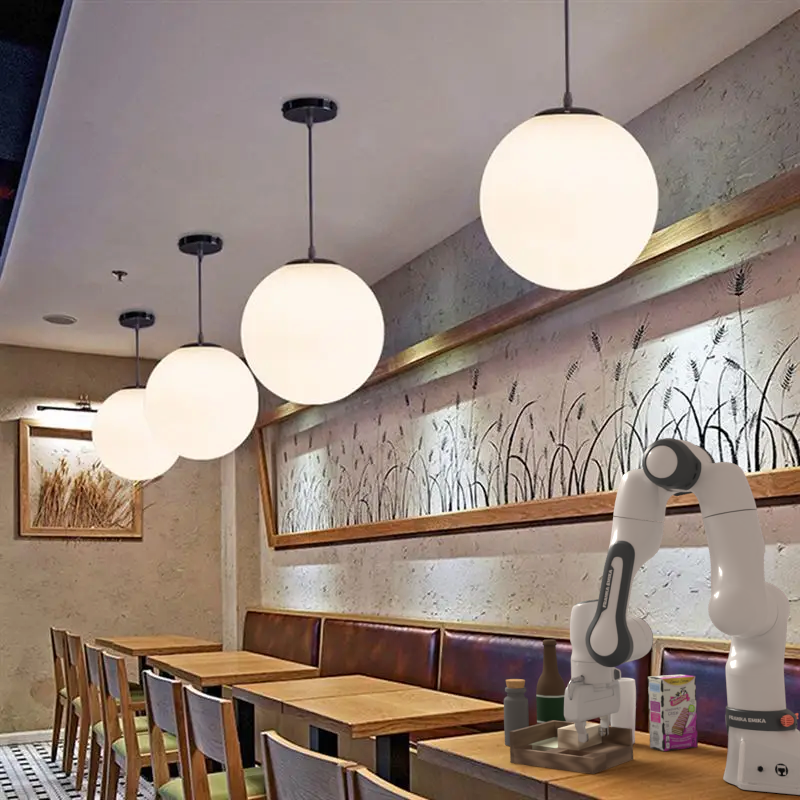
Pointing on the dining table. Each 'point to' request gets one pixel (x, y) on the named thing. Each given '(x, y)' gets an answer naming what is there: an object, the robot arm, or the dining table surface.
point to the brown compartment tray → (543, 751)
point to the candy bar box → (672, 712)
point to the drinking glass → (626, 706)
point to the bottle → (515, 707)
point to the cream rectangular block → (570, 737)
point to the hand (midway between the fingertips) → (593, 738)
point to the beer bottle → (550, 687)
